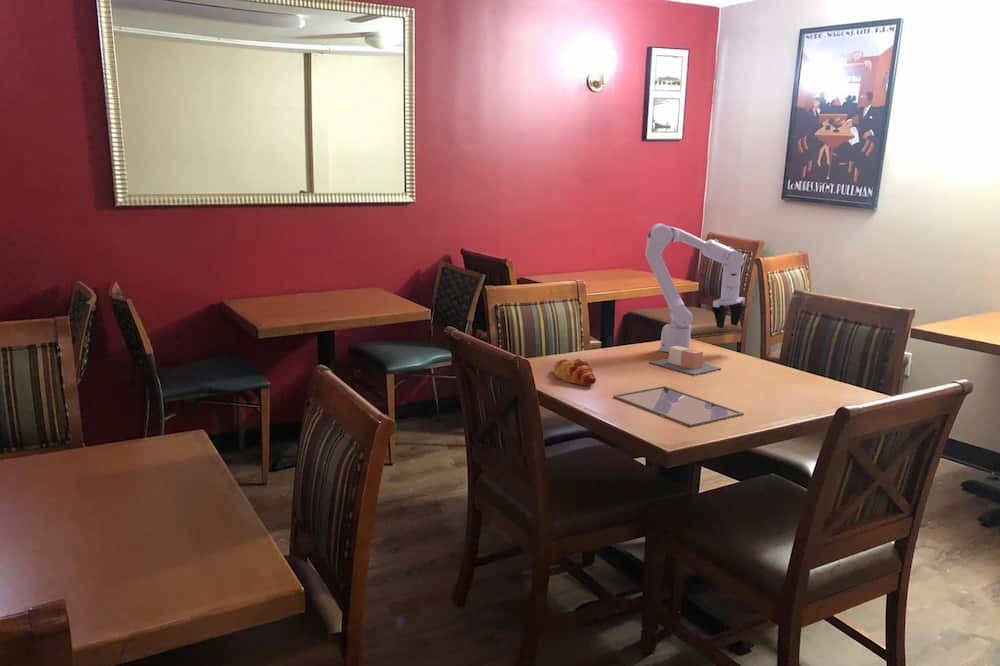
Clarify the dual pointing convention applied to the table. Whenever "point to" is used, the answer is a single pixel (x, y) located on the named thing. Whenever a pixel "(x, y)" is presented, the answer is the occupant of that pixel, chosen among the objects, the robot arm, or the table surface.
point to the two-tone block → (685, 357)
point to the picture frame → (678, 406)
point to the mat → (703, 369)
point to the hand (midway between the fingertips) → (727, 326)
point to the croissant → (574, 371)
